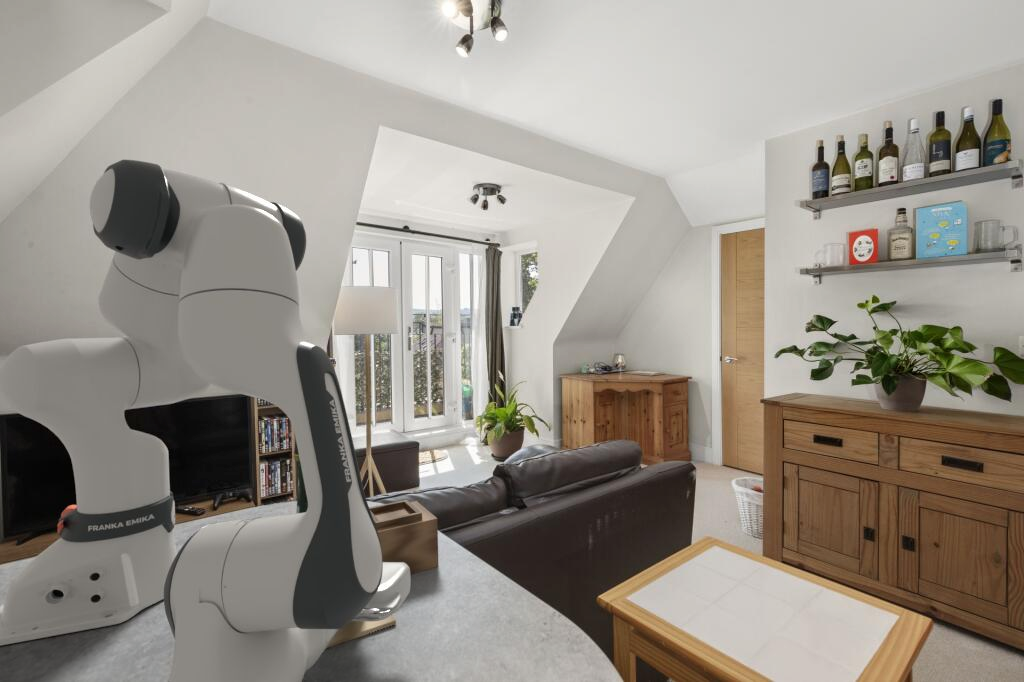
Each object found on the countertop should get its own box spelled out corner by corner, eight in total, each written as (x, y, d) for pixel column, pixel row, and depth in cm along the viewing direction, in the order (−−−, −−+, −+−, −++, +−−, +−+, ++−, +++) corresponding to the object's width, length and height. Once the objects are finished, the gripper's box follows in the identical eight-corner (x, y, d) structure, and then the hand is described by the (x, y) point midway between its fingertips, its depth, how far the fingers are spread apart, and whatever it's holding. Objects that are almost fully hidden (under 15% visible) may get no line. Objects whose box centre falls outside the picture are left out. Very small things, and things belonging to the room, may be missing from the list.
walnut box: (365, 587, 74) (363, 528, 74) (350, 561, 83) (348, 508, 83) (438, 566, 81) (437, 512, 80) (417, 544, 89) (416, 495, 89)
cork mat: (316, 651, 59) (315, 646, 59) (303, 611, 68) (303, 607, 68) (395, 624, 65) (395, 620, 65) (375, 591, 73) (375, 587, 73)
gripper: (391, 588, 52) (423, 534, 66) (210, 585, 54) (279, 533, 68) (393, 646, 53) (424, 580, 66) (212, 642, 54) (280, 578, 68)
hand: (350, 557), depth 67 cm, fingers closed on stopper cap, 5 cm apart
